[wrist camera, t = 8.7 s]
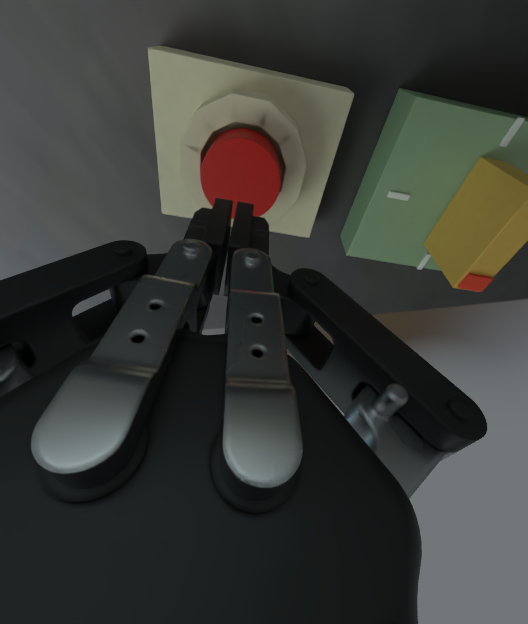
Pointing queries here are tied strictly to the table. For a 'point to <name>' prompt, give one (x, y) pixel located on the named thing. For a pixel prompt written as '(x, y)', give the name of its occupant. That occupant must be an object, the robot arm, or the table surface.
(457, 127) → the plate
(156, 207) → the table surface
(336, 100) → the box
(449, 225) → the lock turn
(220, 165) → the button
